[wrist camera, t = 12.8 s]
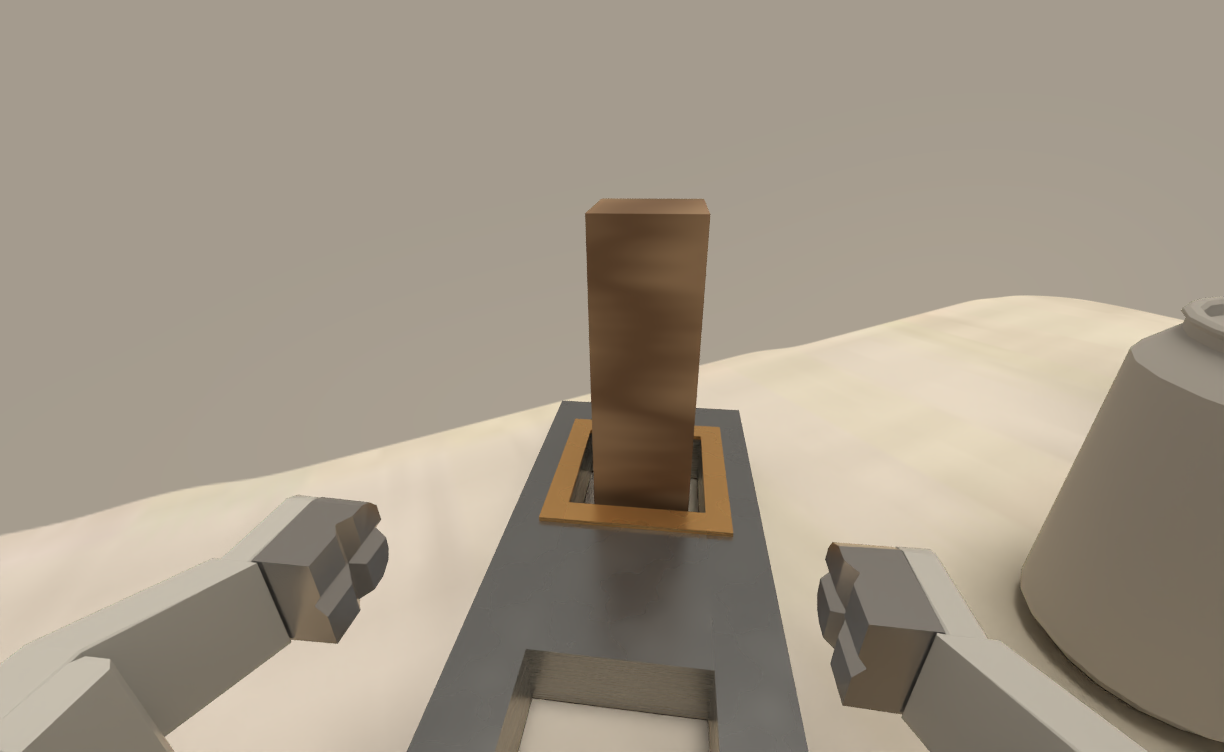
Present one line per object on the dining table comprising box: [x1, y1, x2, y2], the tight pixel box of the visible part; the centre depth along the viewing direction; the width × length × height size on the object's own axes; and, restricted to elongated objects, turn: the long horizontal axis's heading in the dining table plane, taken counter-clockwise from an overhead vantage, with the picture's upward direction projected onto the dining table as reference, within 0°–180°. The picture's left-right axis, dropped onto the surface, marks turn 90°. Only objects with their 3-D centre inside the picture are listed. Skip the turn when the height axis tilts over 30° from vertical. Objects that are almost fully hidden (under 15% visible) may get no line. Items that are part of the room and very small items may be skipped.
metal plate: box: [407, 401, 808, 752], centre depth 18 cm, size 10×24×3 cm, turn 173°
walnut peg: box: [585, 199, 710, 512], centre depth 21 cm, size 4×4×14 cm
